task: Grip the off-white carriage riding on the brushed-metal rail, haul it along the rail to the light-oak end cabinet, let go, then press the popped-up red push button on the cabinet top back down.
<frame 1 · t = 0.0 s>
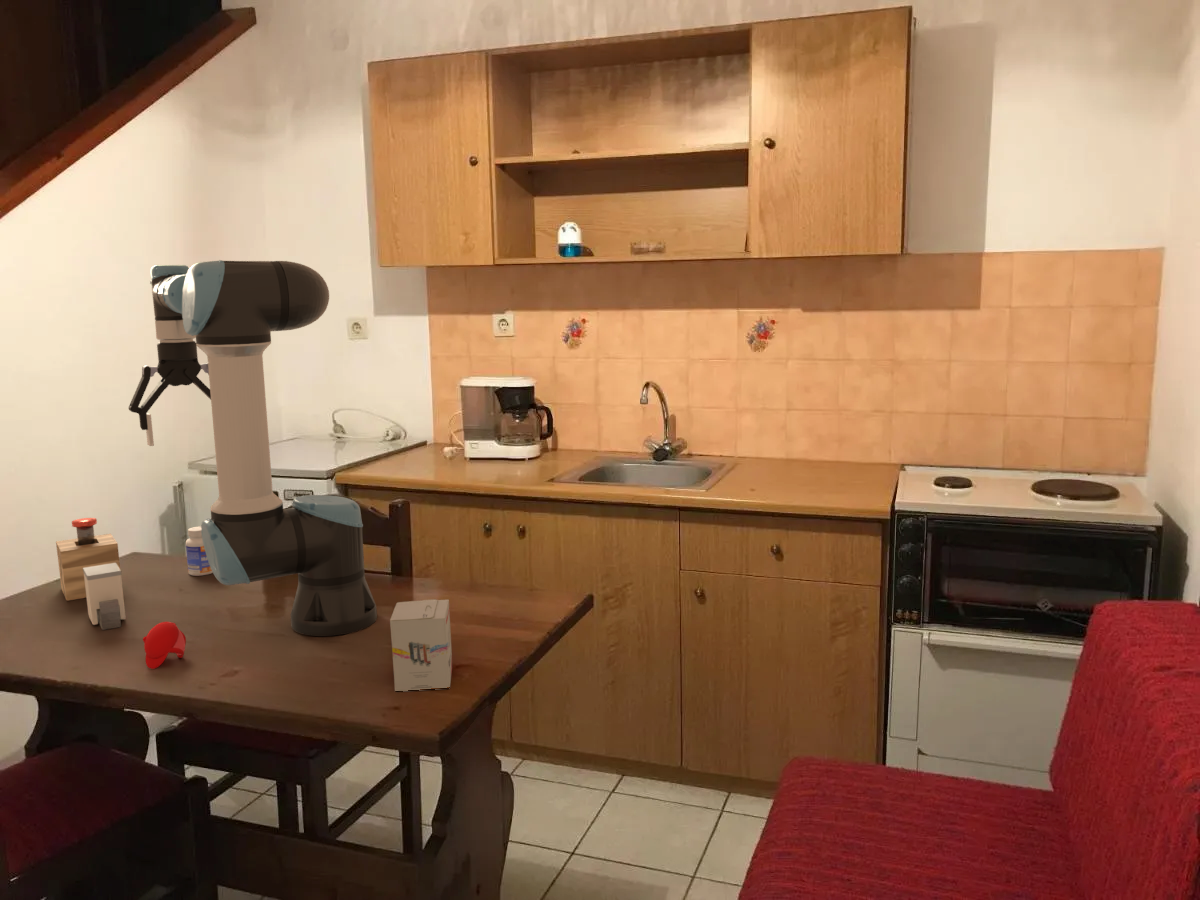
hand: (185, 441, 204), 28 cm above the table, fingers open, 13 cm apart
cabinet: (91, 589, 196), on the table
cap: (165, 661, 160), on the table
ink box: (424, 681, 151), on the table
red push button: (85, 532, 193), point 12 cm above the table, slide at 0.0 cm
rail: (102, 611, 183), on the table
carriage: (104, 593, 178), point 5 cm above the table, slide at 0.0 cm
pill bottle: (202, 573, 206), on the table
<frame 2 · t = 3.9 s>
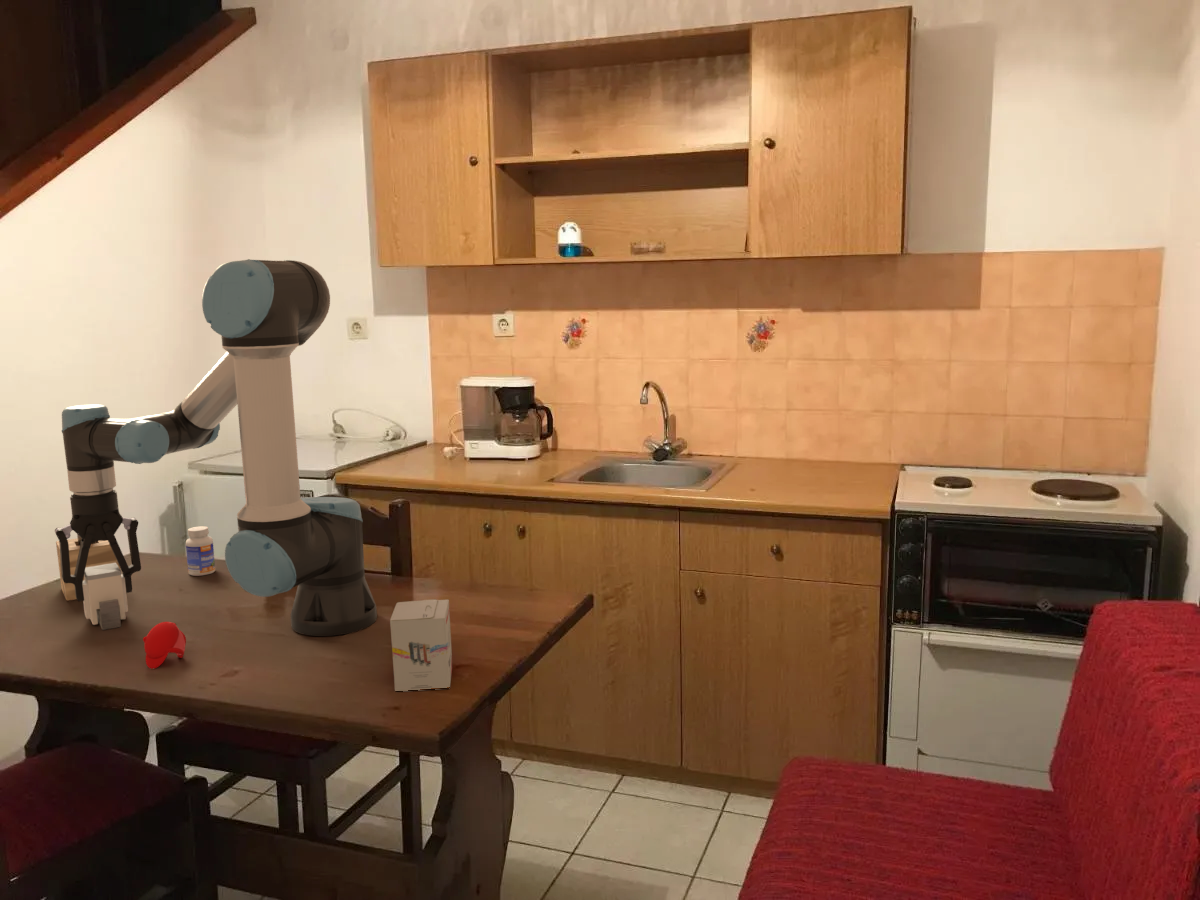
hand: (106, 612, 178), 1 cm above the table, fingers closed on carriage, 5 cm apart
carriage: (104, 593, 178), point 5 cm above the table, slide at 0.0 cm, touching gripper
everything else where it was.
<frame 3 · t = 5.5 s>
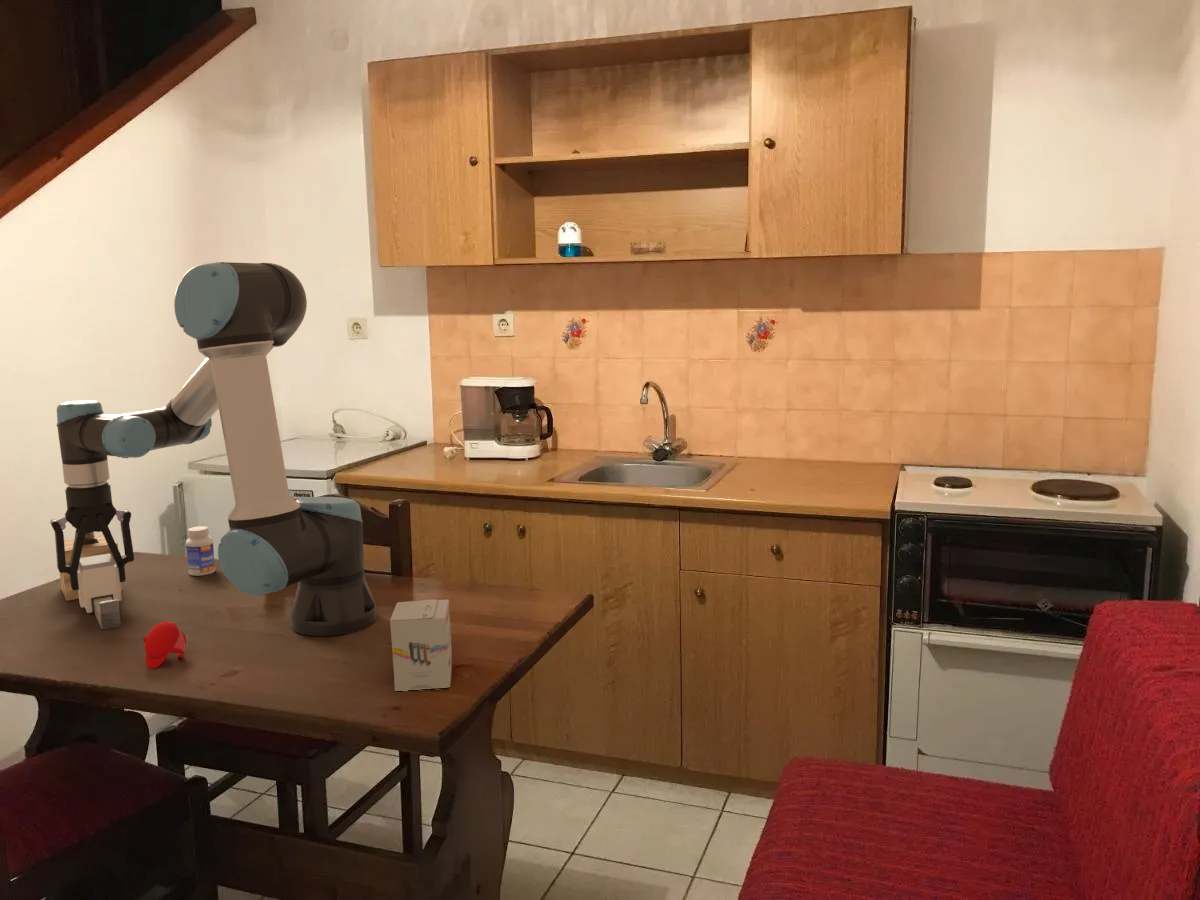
hand: (100, 601, 184), 1 cm above the table, fingers closed on carriage, 5 cm apart
carriage: (98, 582, 184), point 5 cm above the table, slide at 7.5 cm, touching gripper
everything else where it was.
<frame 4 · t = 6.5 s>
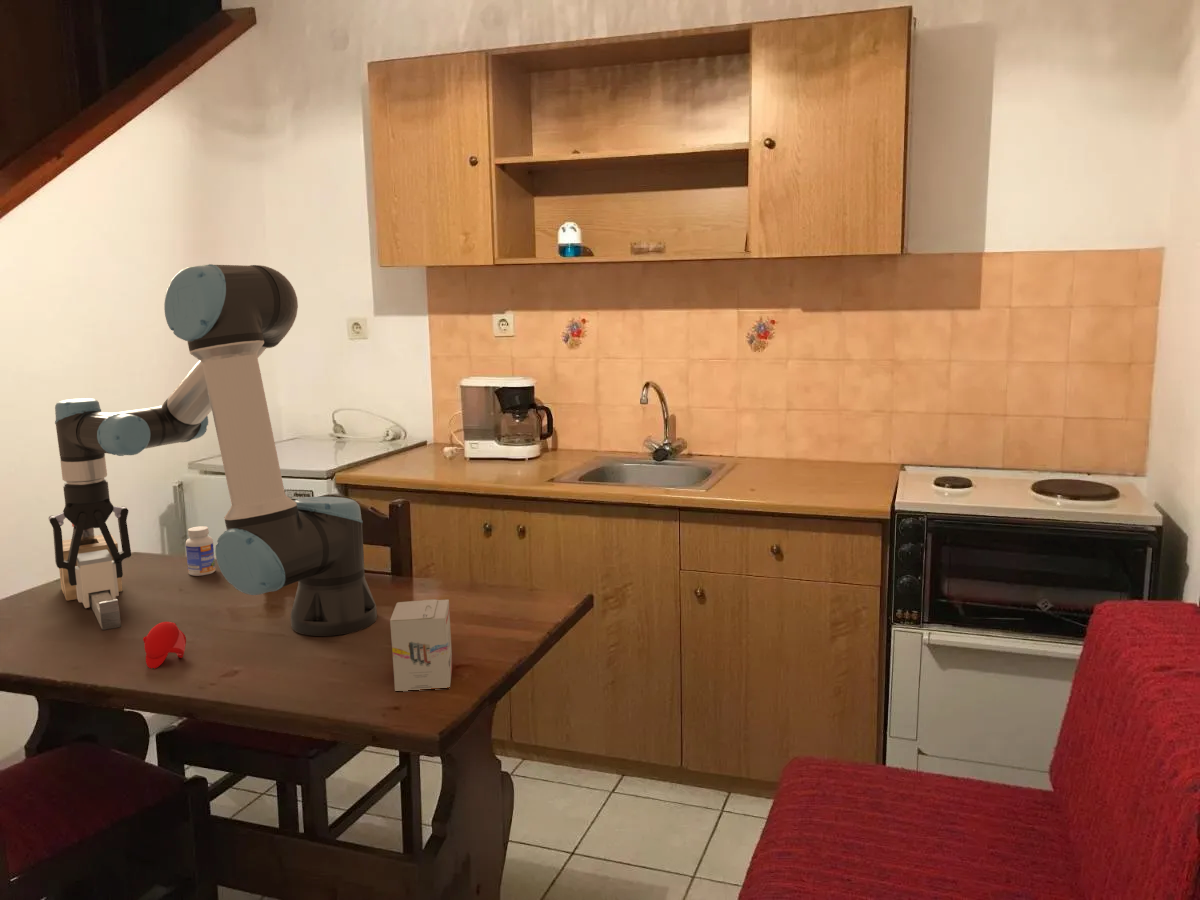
hand: (98, 597, 187), 1 cm above the table, fingers closed on carriage, 5 cm apart
carriage: (96, 578, 187), point 5 cm above the table, slide at 11.0 cm, touching gripper
everything else where it was.
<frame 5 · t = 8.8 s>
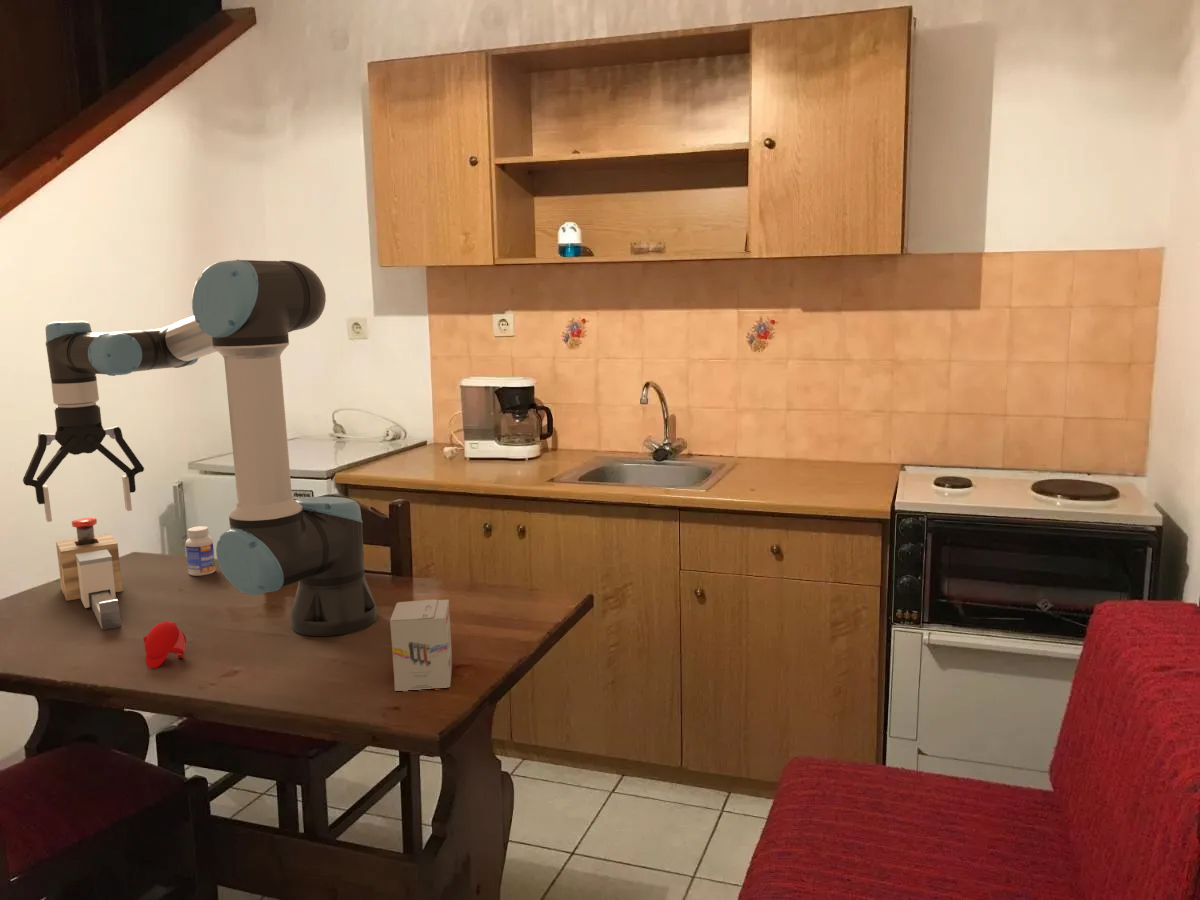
hand: (89, 514, 184), 18 cm above the table, fingers open, 13 cm apart
carriage: (96, 578, 187), point 5 cm above the table, slide at 11.0 cm
everything else where it was.
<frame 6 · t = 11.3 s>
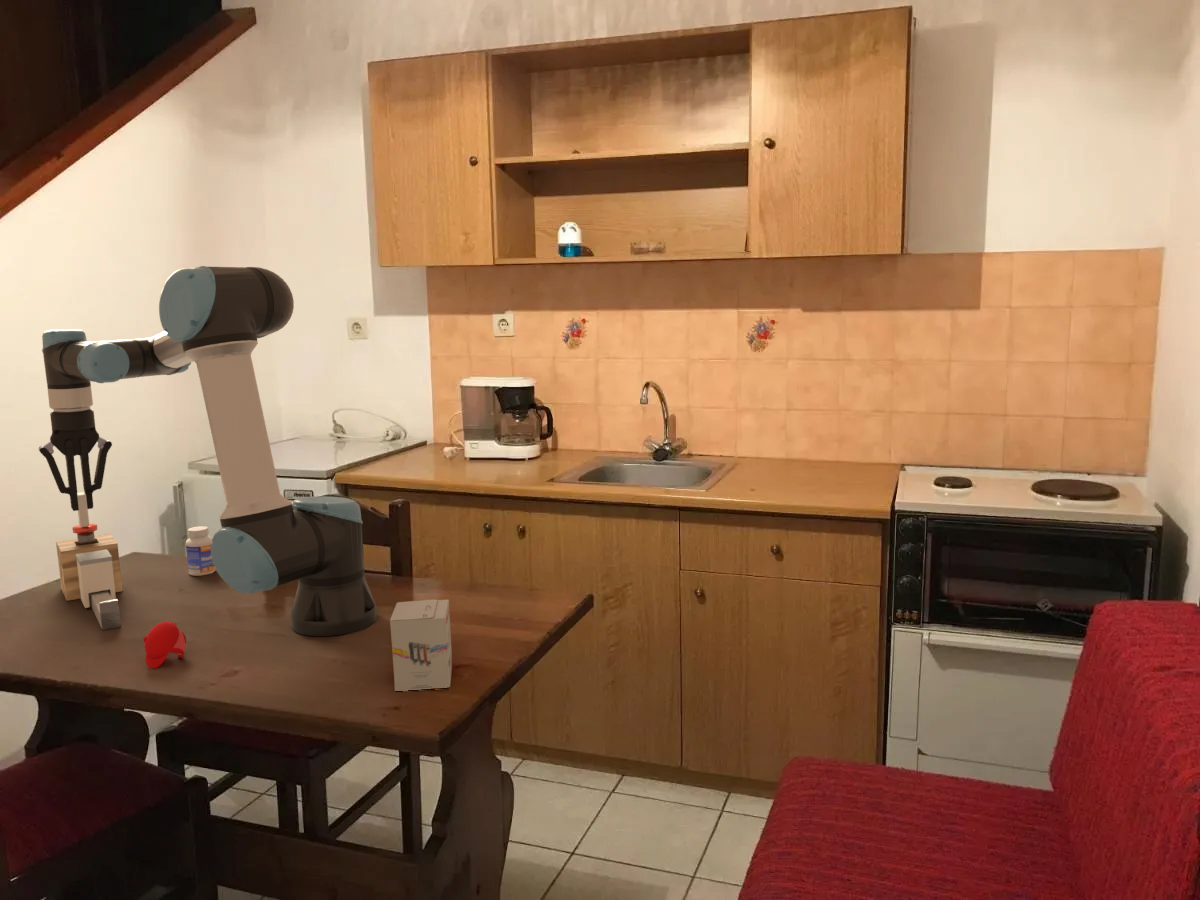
hand: (84, 525, 193), 14 cm above the table, fingers closed
red push button: (86, 538, 194), point 11 cm above the table, slide at 1.3 cm, touching gripper
everything else where it was.
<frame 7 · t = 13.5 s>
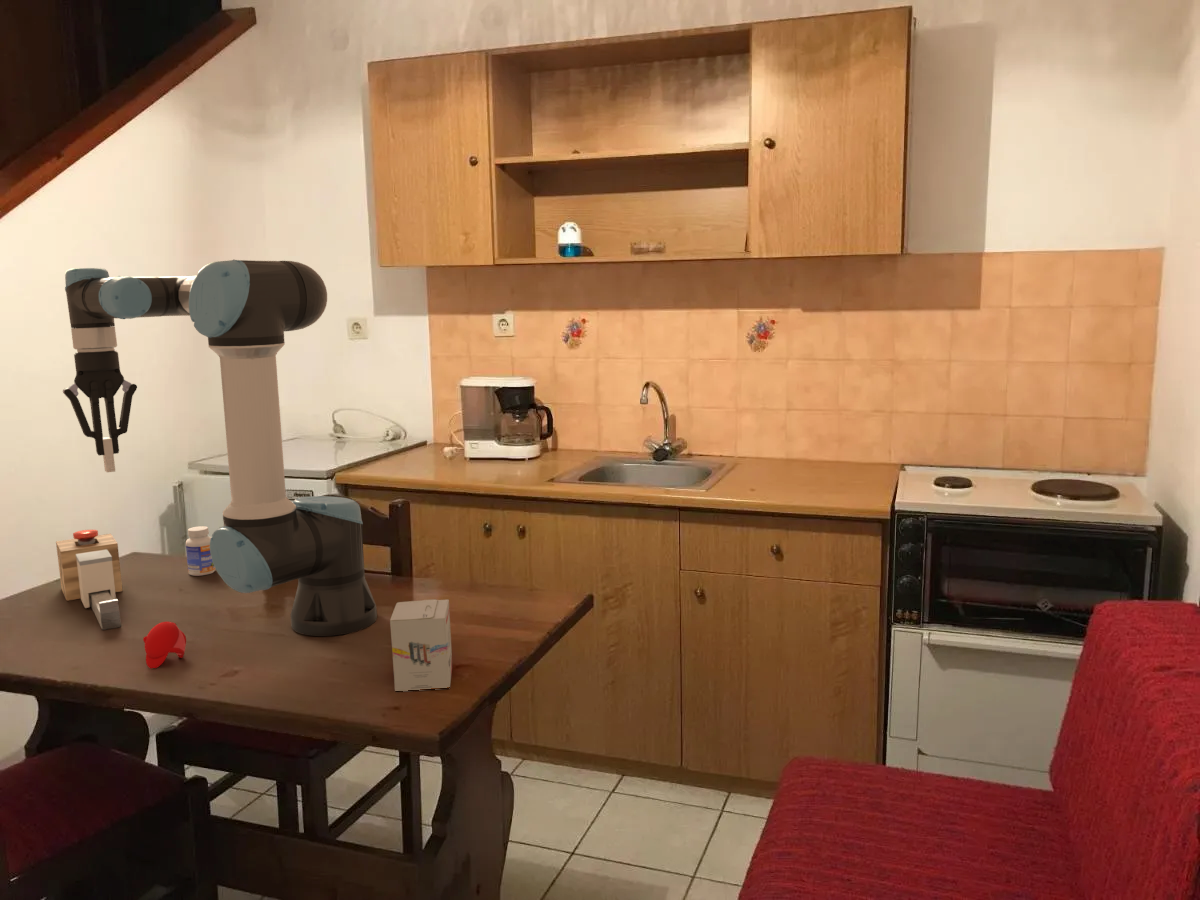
hand: (110, 470, 189), 25 cm above the table, fingers closed
red push button: (86, 544, 194), point 10 cm above the table, slide at 2.5 cm
everything else where it was.
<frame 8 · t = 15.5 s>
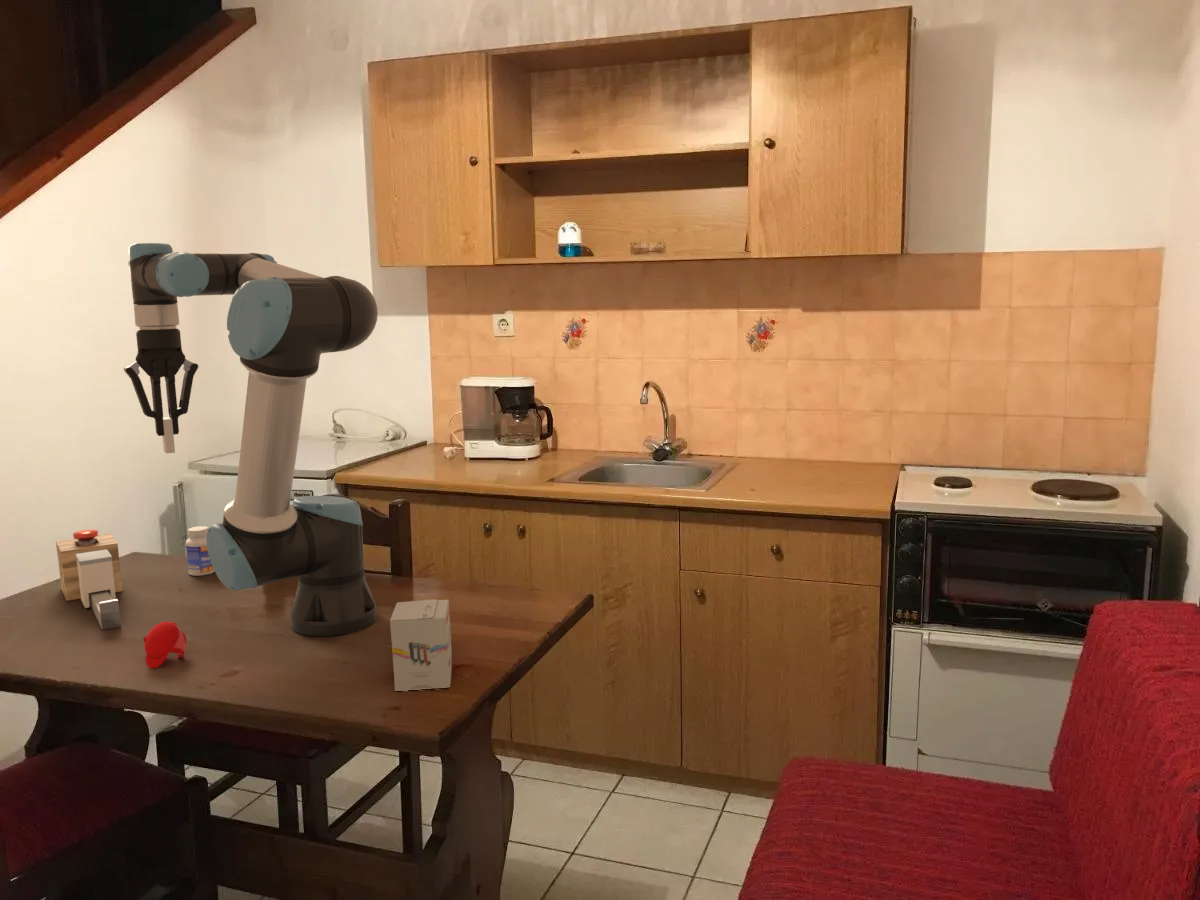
hand: (169, 451, 184), 29 cm above the table, fingers closed
nothing on the table moved.
at the end: carriage slide at 11.0 cm; red push button slide at 2.5 cm; the gripper is holding nothing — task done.
